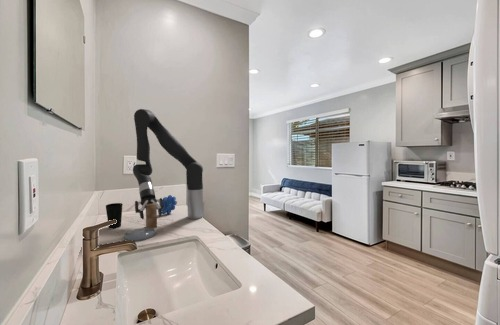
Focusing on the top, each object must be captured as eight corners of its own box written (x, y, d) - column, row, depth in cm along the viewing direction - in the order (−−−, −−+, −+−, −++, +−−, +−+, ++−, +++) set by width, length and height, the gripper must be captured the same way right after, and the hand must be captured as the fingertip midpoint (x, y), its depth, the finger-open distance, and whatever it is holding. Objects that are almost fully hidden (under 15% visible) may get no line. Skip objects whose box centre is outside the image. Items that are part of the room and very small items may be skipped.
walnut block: (155, 225, 123) (154, 203, 122) (157, 227, 119) (156, 204, 118) (146, 226, 120) (145, 204, 120) (147, 229, 116) (147, 206, 116)
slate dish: (151, 228, 116) (151, 226, 116) (157, 236, 106) (157, 233, 106) (123, 234, 109) (123, 231, 109) (126, 243, 98) (126, 240, 98)
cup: (115, 230, 115) (114, 206, 114) (102, 229, 116) (101, 206, 116) (126, 225, 122) (125, 203, 122) (114, 224, 124) (113, 202, 123)
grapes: (174, 210, 151) (174, 193, 151) (178, 212, 146) (178, 194, 145) (156, 214, 144) (156, 195, 143) (160, 216, 138) (160, 197, 138)
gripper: (133, 189, 121) (137, 215, 112) (161, 186, 129) (167, 211, 120) (132, 197, 125) (136, 223, 116) (159, 194, 133) (164, 218, 125)
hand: (151, 217), depth 118 cm, fingers open, 8 cm apart
